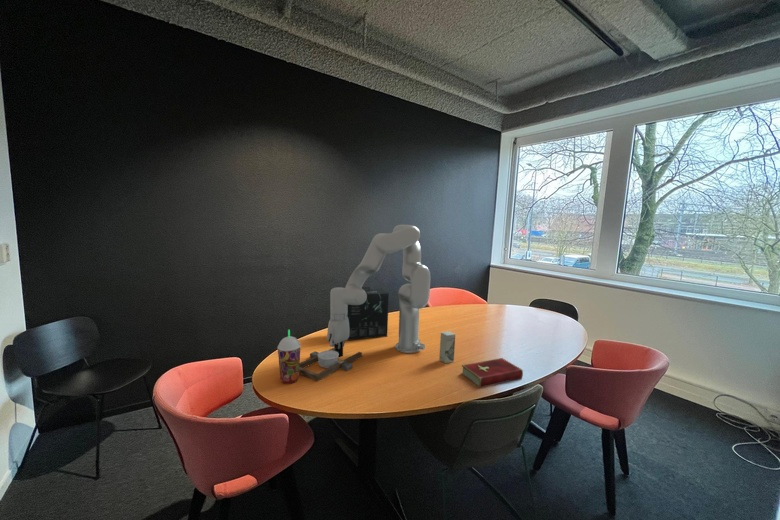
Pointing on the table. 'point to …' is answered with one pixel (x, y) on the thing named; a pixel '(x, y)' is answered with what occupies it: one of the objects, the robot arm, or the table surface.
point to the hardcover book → (492, 372)
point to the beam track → (341, 364)
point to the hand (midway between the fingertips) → (339, 356)
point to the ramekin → (328, 358)
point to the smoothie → (289, 359)
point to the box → (447, 347)
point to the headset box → (369, 315)
